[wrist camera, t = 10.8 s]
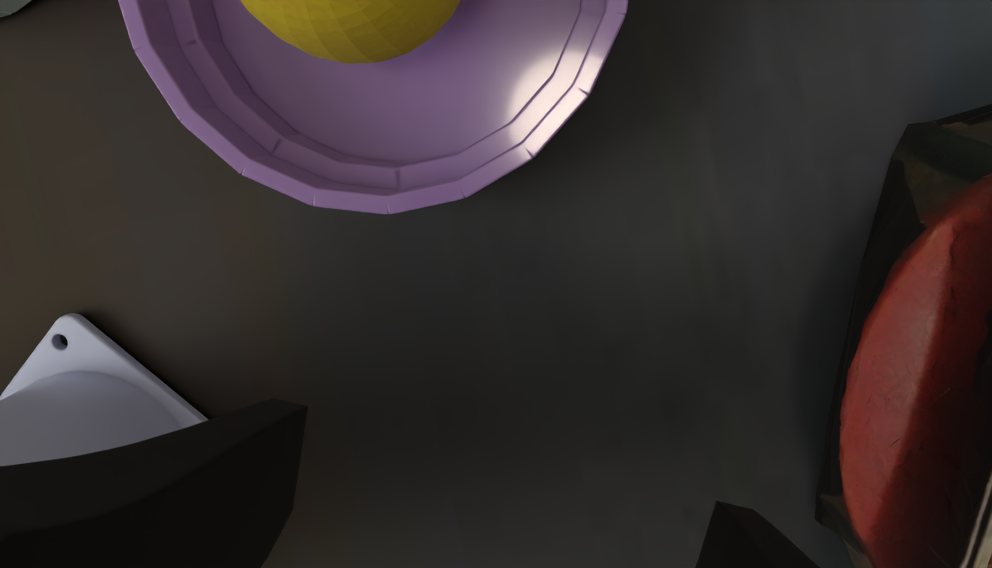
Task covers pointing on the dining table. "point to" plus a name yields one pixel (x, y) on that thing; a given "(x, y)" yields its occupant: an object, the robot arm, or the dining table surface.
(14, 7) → the celadon bowl
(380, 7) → the lemon
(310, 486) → the dining table surface
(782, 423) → the dining table surface
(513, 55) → the lavender bowl
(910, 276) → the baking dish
